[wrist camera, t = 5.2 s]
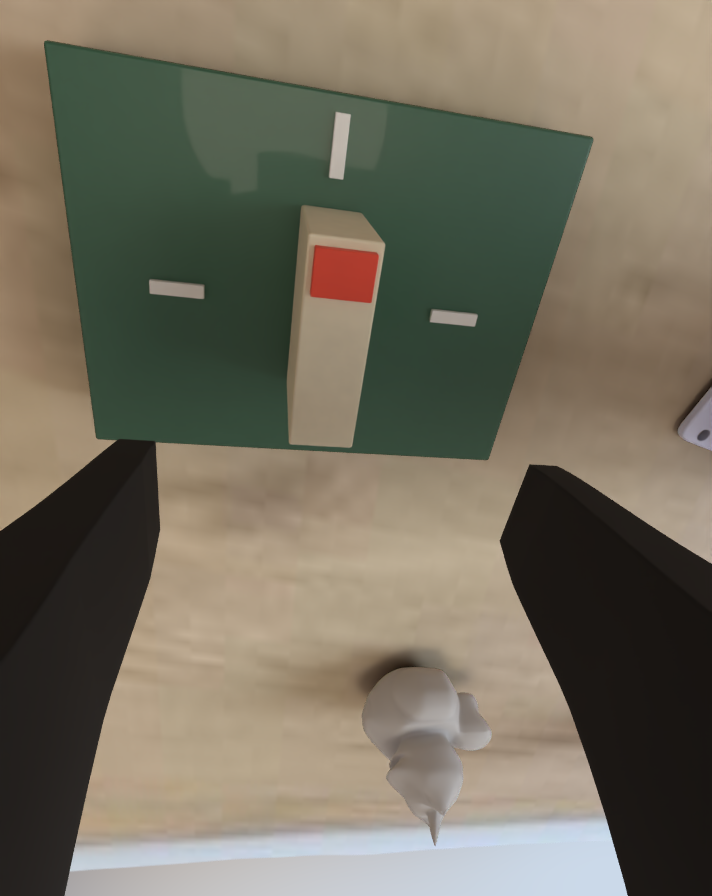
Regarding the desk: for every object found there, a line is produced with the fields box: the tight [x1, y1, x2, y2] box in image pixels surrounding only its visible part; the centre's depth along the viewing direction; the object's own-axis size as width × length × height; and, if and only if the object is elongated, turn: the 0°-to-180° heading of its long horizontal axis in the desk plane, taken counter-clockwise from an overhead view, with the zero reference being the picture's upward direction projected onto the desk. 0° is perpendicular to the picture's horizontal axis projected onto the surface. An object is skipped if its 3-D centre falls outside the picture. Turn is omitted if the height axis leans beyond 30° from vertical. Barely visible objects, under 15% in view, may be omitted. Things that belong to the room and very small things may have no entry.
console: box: [44, 40, 593, 460], centre depth 16 cm, size 13×10×3 cm
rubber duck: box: [362, 667, 492, 846], centre depth 26 cm, size 5×7×8 cm
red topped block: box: [287, 205, 385, 448], centre depth 13 cm, size 5×2×4 cm, turn 172°
